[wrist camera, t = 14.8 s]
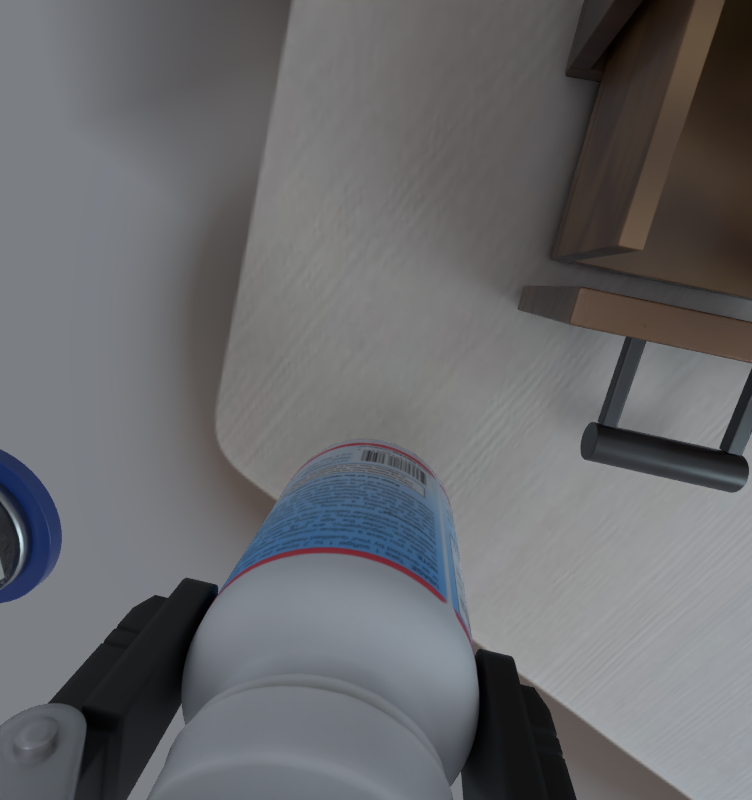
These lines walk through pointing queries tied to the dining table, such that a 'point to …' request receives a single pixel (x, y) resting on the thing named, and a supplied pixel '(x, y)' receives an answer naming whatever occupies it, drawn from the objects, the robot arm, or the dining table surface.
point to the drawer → (665, 217)
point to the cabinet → (597, 36)
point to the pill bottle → (335, 646)
